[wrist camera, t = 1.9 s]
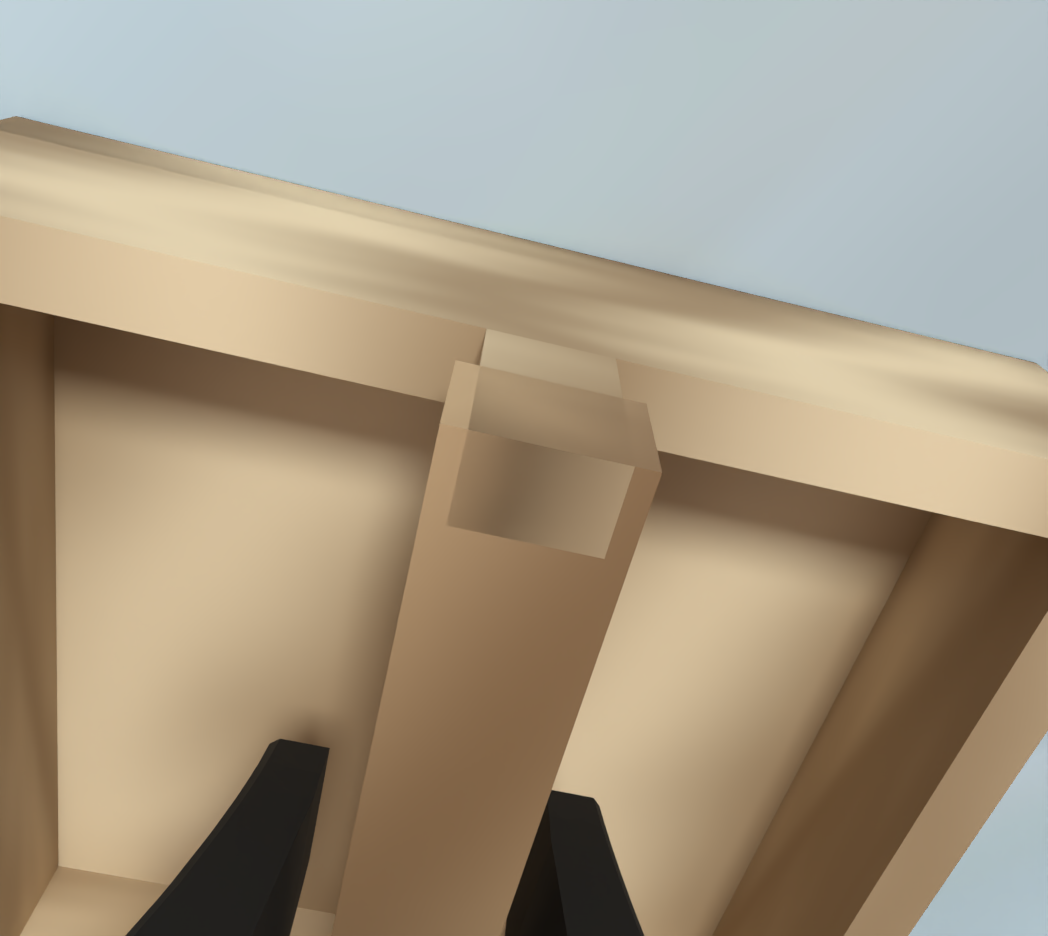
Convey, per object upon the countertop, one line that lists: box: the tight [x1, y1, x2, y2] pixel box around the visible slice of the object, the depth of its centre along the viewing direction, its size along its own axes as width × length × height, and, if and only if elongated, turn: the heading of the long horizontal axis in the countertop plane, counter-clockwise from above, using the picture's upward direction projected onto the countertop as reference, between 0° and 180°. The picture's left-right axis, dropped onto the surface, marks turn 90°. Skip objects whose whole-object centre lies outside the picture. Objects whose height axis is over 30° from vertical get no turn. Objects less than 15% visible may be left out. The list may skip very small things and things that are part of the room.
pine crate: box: [0, 116, 1048, 936], centre depth 12 cm, size 13×13×6 cm
